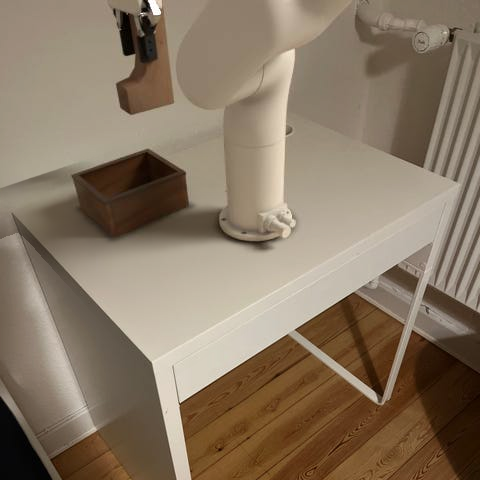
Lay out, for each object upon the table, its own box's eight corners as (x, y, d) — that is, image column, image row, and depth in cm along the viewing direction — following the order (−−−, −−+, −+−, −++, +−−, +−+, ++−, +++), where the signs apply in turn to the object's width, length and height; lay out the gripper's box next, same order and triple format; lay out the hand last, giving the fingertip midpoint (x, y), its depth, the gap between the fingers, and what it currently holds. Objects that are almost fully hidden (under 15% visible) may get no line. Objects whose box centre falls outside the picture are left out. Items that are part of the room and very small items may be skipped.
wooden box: (189, 206, 93) (186, 171, 88) (113, 238, 86) (104, 202, 81) (153, 181, 100) (148, 148, 96) (80, 208, 93) (70, 174, 89)
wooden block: (130, 116, 88) (109, -4, 76) (119, 108, 91) (97, -9, 79) (175, 103, 92) (161, -13, 80) (163, 97, 95) (148, -17, 82)
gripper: (174, -77, 70) (187, 63, 83) (113, -84, 80) (133, 43, 92) (128, -71, 67) (149, 74, 79) (70, -80, 77) (96, 52, 89)
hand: (140, 56), depth 86 cm, fingers closed on wooden block, 4 cm apart
